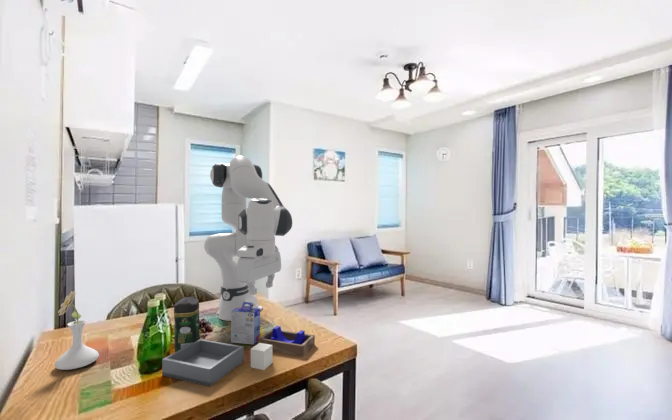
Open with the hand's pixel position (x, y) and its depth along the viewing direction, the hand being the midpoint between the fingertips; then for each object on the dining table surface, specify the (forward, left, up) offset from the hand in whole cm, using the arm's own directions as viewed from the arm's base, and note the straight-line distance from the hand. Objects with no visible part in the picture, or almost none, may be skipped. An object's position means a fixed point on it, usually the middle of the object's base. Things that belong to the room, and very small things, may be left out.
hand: (261, 290), depth 106 cm
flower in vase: (+21, -56, -25) cm, 65 cm away
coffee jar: (0, -31, -25) cm, 40 cm away
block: (0, 0, -24) cm, 24 cm away
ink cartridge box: (-14, -16, -25) cm, 33 cm away
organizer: (-15, +1, -24) cm, 29 cm away
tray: (+8, -16, -24) cm, 30 cm away
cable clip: (-16, +1, -25) cm, 29 cm away
